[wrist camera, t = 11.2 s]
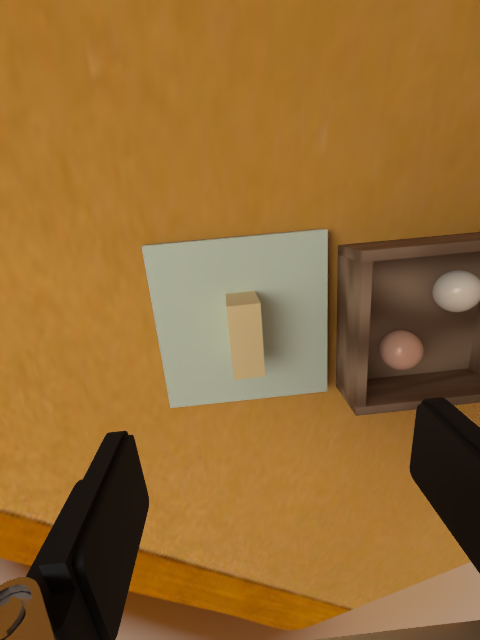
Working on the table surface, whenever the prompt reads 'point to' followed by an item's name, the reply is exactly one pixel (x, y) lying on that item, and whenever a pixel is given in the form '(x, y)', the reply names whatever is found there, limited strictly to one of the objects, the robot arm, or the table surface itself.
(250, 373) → the lid
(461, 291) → the cream ball
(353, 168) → the table surface
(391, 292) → the walnut box
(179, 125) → the table surface
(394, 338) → the terracotta ball
